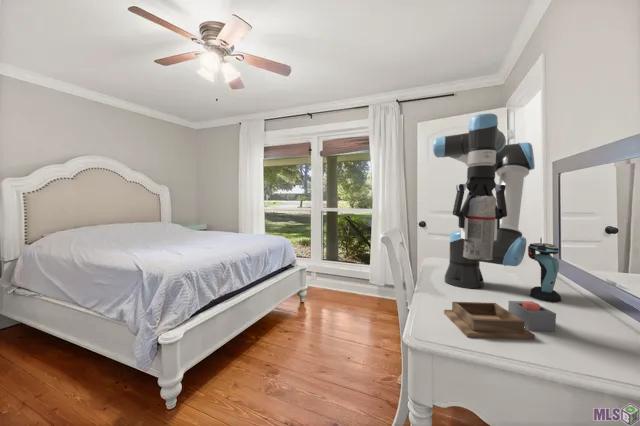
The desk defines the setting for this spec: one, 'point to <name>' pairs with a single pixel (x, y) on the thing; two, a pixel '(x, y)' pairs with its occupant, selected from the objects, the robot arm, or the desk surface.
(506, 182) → the robot arm
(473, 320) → the walnut tray
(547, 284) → the teal power drill
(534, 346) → the desk surface
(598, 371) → the desk surface
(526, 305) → the button
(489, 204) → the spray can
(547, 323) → the control box
